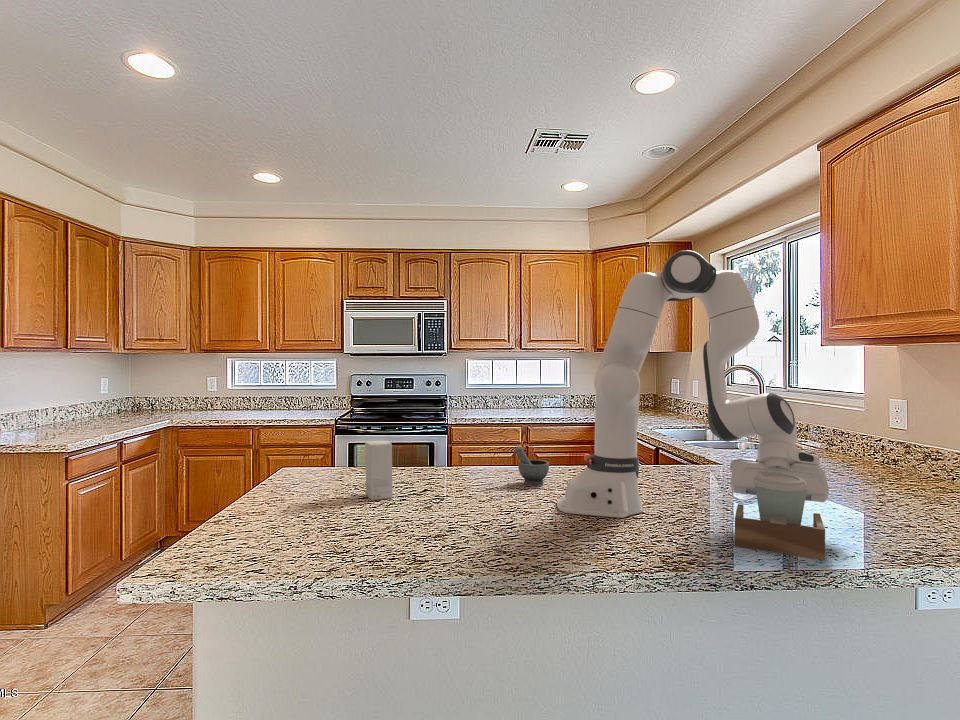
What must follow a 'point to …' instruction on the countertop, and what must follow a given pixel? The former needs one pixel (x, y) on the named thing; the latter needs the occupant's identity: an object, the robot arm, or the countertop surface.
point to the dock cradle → (780, 535)
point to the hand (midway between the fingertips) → (777, 511)
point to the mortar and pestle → (531, 469)
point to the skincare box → (378, 470)
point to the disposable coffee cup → (780, 495)
